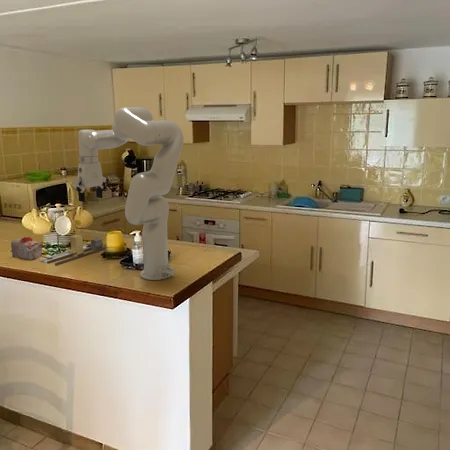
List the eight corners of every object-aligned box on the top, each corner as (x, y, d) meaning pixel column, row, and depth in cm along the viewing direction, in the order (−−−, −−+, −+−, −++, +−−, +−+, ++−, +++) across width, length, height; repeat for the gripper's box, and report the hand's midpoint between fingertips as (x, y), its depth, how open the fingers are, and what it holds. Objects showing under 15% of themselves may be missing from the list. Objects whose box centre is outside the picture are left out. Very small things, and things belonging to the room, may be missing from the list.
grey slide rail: (108, 251, 213) (107, 238, 211) (53, 269, 188) (52, 255, 187) (90, 247, 219) (89, 234, 217) (35, 264, 194) (33, 250, 193)
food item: (46, 258, 202) (43, 237, 200) (31, 264, 196) (28, 241, 193) (24, 254, 209) (22, 233, 206) (9, 259, 202) (6, 237, 199)
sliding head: (83, 255, 202) (82, 235, 200) (77, 257, 199) (75, 237, 197) (70, 252, 207) (68, 232, 205) (64, 254, 204) (62, 234, 202)
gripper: (78, 162, 184) (80, 204, 189) (110, 158, 198) (112, 197, 203) (66, 160, 188) (68, 201, 193) (98, 156, 202) (100, 195, 207)
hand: (90, 199), depth 198 cm, fingers open, 9 cm apart
